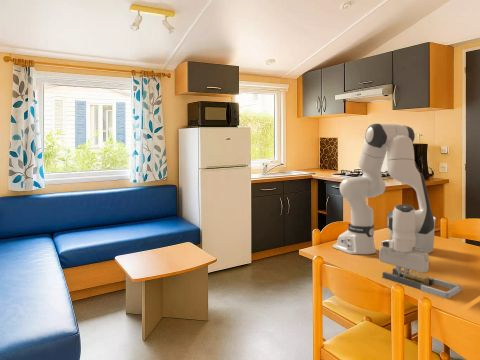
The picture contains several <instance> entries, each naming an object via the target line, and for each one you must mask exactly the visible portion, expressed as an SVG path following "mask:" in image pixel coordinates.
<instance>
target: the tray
mask: <svg viewBox="0 0 480 360" xmlns="http://www.w3.org/2000/svg"><path fill="white" fill-rule="evenodd" d="M433 279H434V284H433V285H436V286H439V287H442V288H446V289H449V290H446V291H444V290H441V289H437V288H435V287H431V286H429V287H428V286H425V285H421V290H420V291H421V292H425V293H427V294H430V295H434V296H437V297H441V298H444V299H447V300H449V299H450V298H452V297H453V296H455V295H457V294H459V293H460V292H462V285H459V284H456V283H453V282H449V281H445V280H442V279H440V278H433Z"/></svg>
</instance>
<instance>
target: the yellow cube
mask: <svg viewBox="0 0 480 360" xmlns="http://www.w3.org/2000/svg"><path fill="white" fill-rule="evenodd" d="M429 278H430V276H429V275H425V274H423V273H418V275H416V276H414V281H417V282H420V283H424V285H425V286H428V285H429Z"/></svg>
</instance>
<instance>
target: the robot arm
mask: <svg viewBox="0 0 480 360" xmlns="http://www.w3.org/2000/svg"><path fill="white" fill-rule="evenodd" d="M364 136H365V137H364V138H365V142H364V144H363V147H362V150H361V155H360V158H359V161H358V167H359V169H360V170H362V175H361V176H355V177H349V178H345V179H343V180H342V181H341V182H340V184H339V193H340V195H341V196H342V197H343V198H344V199H345V201H347V203H348V205H349V207H350V208H349V209H350V223H348V224H347V225H346V227H347V229H346V230H345V231H344V232H342V233H341V234H339V236H338V237H337V241H336V243H334V244H333V245H332V248H334V249H337V250H338V251H341V252H345V253H347V254H349V255H372V254H375V253H377V250H376V246H375V240H374V239H375V238H374V234H375V225H374V209H373V208H372V207H371V206H370V205H368V204H367V201H366V199H367V198H368V199H369V198H375V197H377V196H380V195H382V194H384V192H385V191H386V181H385V180H384V179H383V178H382V174H381V173H382V167H383V164H384V160H385V158H387V159H386V163H387V164H386V166H387V173H388V175H389V176H390V177H391V178H392V179H393V180H395V181H397V182H399V183H402V184H405V185H408V186H410V187H411V188H413V189H414V191H415V193H416V198H417V203H418V209H417V210H416V209H415V207H413V206H412V205H410V204H397V205H395V206H394V208H393V209H392V210H390V212H388V213H387V222H386V228H387V229H388V230H389V229H390V230H391V231H393V235H392V238H388V239H384V240H382V241H380V248H379V252H378V259H379V261H380V262H381V263H383V264H388V265H391V266H395V268H396V270H397V272H398V276H400V277H404V278H405V273H407V272H409V271H411V272H415V273H418V274H425V273H427V272H429V270H430V269H429V267H430V265H429V264H430V263H429V253H427V252H426V251H425V250H424V249H419V248H415V233H419V234H428V233H429V232H431V231H432V230H433V229H434V225H435V226H436V221H435V222H434V218H433V217H434V214H433V211H432V207H431V203H430V197H429V193H428V189H427V184H426V180H425V177H424V174H423V173H422V172H420V171H419V170H418V168H417V167H416V166H417V165H416V163H415V150H414V145H413V143H414V141H415V138H416V137H415V130H414V129H413V127H410V126H407V125H406V124H405V125H402V124H396V123H395V124H394V123H372V124H370V125H369V126H368V127H367V128H366V130H365V134H364ZM386 154H387V155H386ZM425 252H426V253H425ZM402 269H403V270H404V271H405V272H404V273H403V272H402V271H401V270H402Z"/></svg>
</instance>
